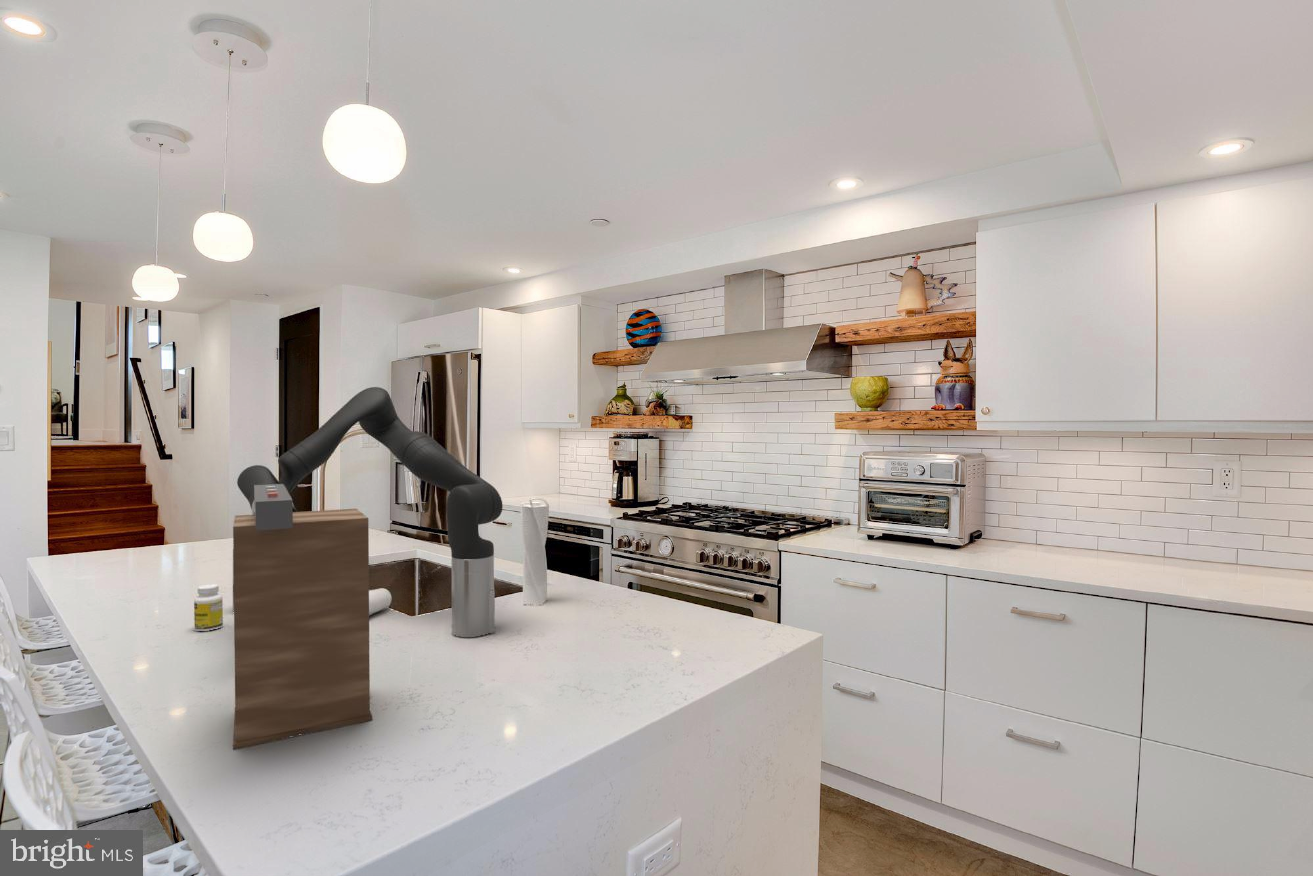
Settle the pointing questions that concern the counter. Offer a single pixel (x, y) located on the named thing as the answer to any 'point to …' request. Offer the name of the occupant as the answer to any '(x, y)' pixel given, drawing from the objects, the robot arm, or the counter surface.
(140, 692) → the counter surface
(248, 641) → the brown tall block
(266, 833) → the counter surface
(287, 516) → the power strip
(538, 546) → the twisted white column
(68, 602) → the counter surface
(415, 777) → the counter surface
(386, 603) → the drinking glass
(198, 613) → the supplement bottle
